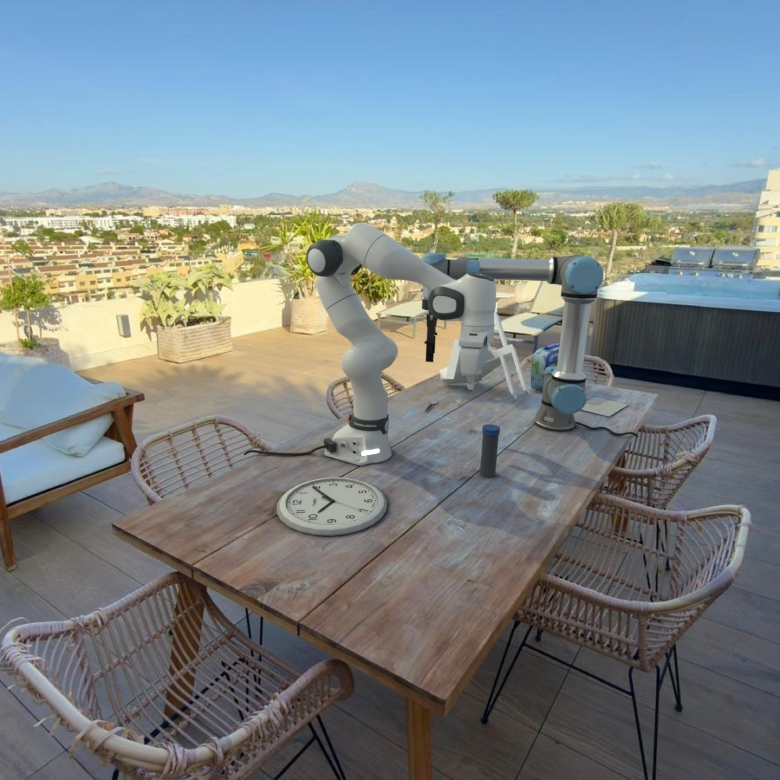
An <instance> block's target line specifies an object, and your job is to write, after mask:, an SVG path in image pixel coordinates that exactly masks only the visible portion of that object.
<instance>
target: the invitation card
mask: <svg viewBox="0 0 780 780" xmlns="http://www.w3.org/2000/svg"><path fill="white" fill-rule="evenodd" d="M628 406H629V404H627V403H623V402H618V401H614V400H609V399H605V398H601V397H596V396H593V397H592V398H590V399H587V401H586V404H585V406H584V407H583V408H582V409H581V410H580V411H584V412H587V413H593V414H596V415H600V416H604V417H608V418H609V417H611V416H613V415H614V414H616V413H617V412H619V411H621V410H623V409H624V408H626V407H628Z"/></svg>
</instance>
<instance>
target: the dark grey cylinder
mask: <svg viewBox="0 0 780 780" xmlns="http://www.w3.org/2000/svg"><path fill="white" fill-rule="evenodd" d="M499 435H500V434H499ZM499 435H498V436H487V435H484V434H483V433H482V439H481V440H482V441H481V454H480V467H479V475H480V476H482V477H483V478H487V479H490V478H494V477H496V471H497V458H498V448H499Z"/></svg>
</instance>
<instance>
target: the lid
mask: <svg viewBox="0 0 780 780" xmlns="http://www.w3.org/2000/svg"><path fill="white" fill-rule="evenodd" d="M481 432H482V433H481V434H482V435H483V434H484V435H487V436H498V435H500V433H501V427H500V426H499V425H497V424H493V423H487V424H483V425H482V428H481Z"/></svg>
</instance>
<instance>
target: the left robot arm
mask: <svg viewBox="0 0 780 780" xmlns="http://www.w3.org/2000/svg"><path fill="white" fill-rule="evenodd" d="M305 258H306V259H305V260H306V264H307V267H308V269H309V270H310V272H311V273H312V274H314V275H315V276H317V278H316V279H315V288H316V291H317V294H318V297H319V300H320V302H321V304H322V306H323V308H324V310H325V311H326V314H327V316H328V317H329V318H330V321H331V323H332V324H333V327H334V329H335V330H336V332H337V333H338V334H339V335H340V336H342V337H344V338H346V340H348V342H349V343H351V345H352V346H351V347H349V348H348V349H347V350H346V351H345V352H344V353H343V355H342V357H341V361H340V362H341V363H340V365H341V369H342V371H343V373H344V375H345V376H346V377H348V379H349V382H350V384H351V388H352V396H353V397H352V398H353V399H352V400H353V410H352V411H351V413H350V414H349V415H348V416H347V417H346V422H348V423H346V424H345V425H343V427H341V428H339V429H338V430H337V431H336V432H335V433H334V434H333V436H332V439H331V438H330V437H326V438H323V445H320V446H317V447H315V448H313V449H311V450H310V451H306V452H305V451H304V452H277V451H264V450H258V449H249V450H247V451H245V452H243V454H242V455H243V456H247V455H248V454H250V453H255V454H261V455H275V456H295V457H296V456H297V457H298V456H307V455H310V454H313V453H315V452H316V451H318V450H321V449H324V456H325V457H329V458H332V459H335V460H338V461H342V462H346V463H348V464H353V465H357V466H365V465H369V464H377V463H381V462H385V461H387V460H390V458H391V457H392V455H393V453H392V450H391V446H390V440H389V430H390V417H389V414H388V413H389V412H388V407H389V406H388V401H389V400H388V397H389V395H388V390H387V389H386V388H385V386H384V384H383V381H382V380H383V379H382V373H383V371H384V370H386V369H388V368H389V367H391V366H392V365H393V364H394V362H395V361H396V359H397V357H398V354H399V350H398V349H399V348H398V345H397V343H396V342H395V340H393V339H392V338H391V337H389V336H387V335H386V334H385V333H384V332H383V331H382V330H381V329H380V328H379V327H378V325H377V324H376V323H375V322H374V320H373V319H372V318H371V317H370V315H369V314H368V311H367V310H366V309H365V307H364V305H363V303H362V301H361V299H360V298H359V295H358V294H357V292H356V290H355V289H354V287H353V284H352V282H351V276H355V275H357V274H358V273H359V271H360V269H361V268H362V267H364V268H365V269H367V270H368V271H369V272H371V273H373V274H374V275H377V276H378V277H380V278H383V279H385V280H390V281H391V280H393V281H396V280H398V281H409V282H413V283H417V284H419V285H421V286H422V287H423V286H425V287H426V288H428V289H429V290H431V293H430V295H429V298H428V307H429V310H430V312H431V314H432V315H433V316H434V317H435V318H437V320H439V321H451V320H459V321H460V333H459V334H460V336H459V338H458V339H459V346H461V373H462V375H463V376H466V378H467V383H466V384H467V385H466V387H467V388H466V389H467V390H470V391H473V390H475V388H476V383H475V380H478V381H479V380H480V379H481V374H482V369H483V365H484V364H485V363H486V361H487V359H488V344H489V345H490V344H492V343H494V340H495V339H494V338H495V326H496V325H495V324H496V321H495V318H494V311H496V308H497V287H496V286H497V285H496V280H495V279H493V278H492V277H491V276H489V275H487V274H483V273H476V272H470V273H467V274H466V275H465V276H463V277H462V278H460V279H455V278H453V277H451V276H449V275H448V274H446V273H444V272H443V271H441V270H439V269H438V268H436V267H434V266H433V265H431V264H429V263H427V262H426V261H424V259H422V258H421V257H419V256H418V255H416V254H415V253H414V252H412V251H411V250H409V249H408V248H406V247H405V246H403V245H402V244H401V243H399V242H398V241H397V240H395V239H394V238H393V237H392V236H390V235H388V234H386V233H385V232H384V231H381V230H380V229H378V228H376V227H374V226H372V225H369V224H367V223H364V222H357V223H354V224H353V225H351V226H350V227H349V228H348V229H347V231H346V232H345V234H340V235H339V234H338V235H334V236H332V237H328V238H325V239H320V240H316V241H315V242H313V243H312V244H310V246H308V248H307V251H306V254H305Z"/></svg>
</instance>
